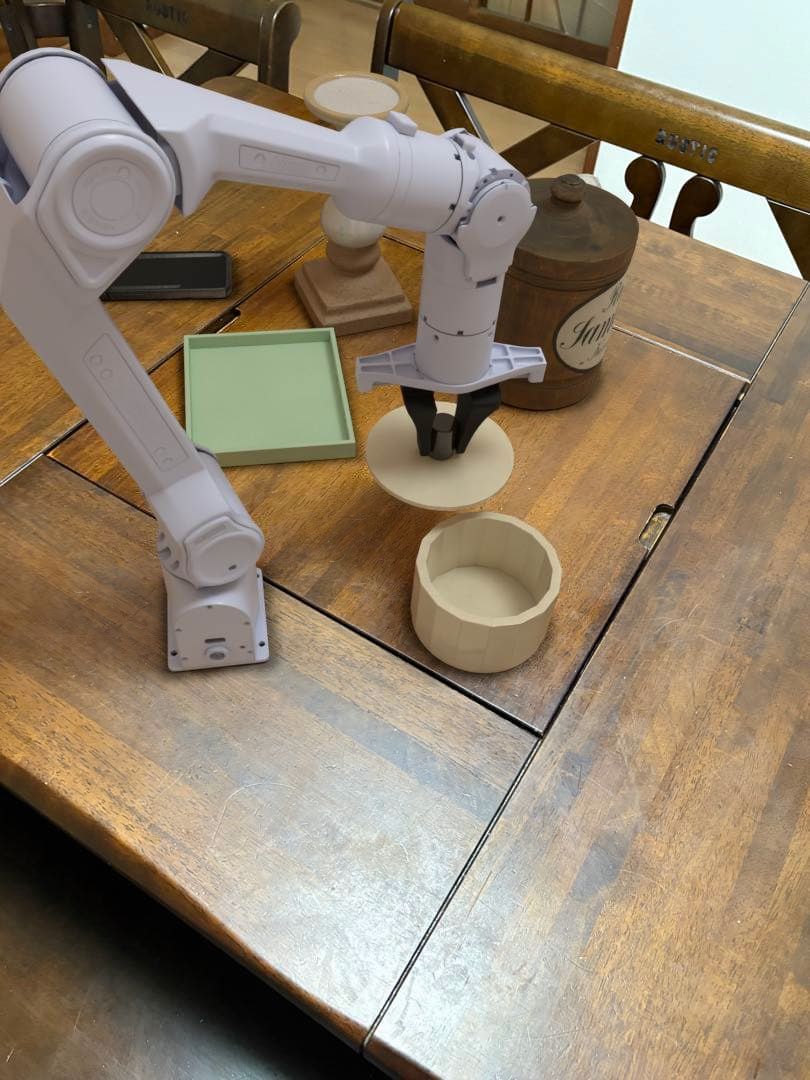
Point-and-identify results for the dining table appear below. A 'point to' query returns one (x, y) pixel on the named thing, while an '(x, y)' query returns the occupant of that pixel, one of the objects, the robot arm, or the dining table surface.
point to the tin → (484, 591)
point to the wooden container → (565, 288)
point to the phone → (174, 276)
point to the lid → (438, 461)
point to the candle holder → (352, 221)
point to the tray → (267, 396)
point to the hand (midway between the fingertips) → (440, 446)
